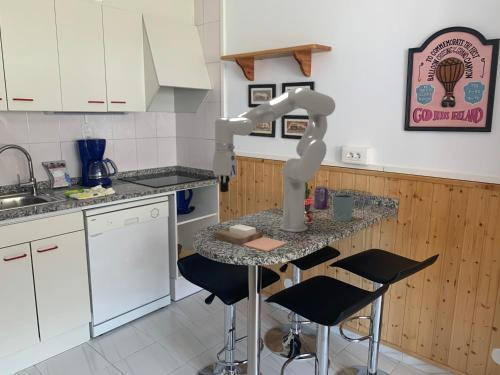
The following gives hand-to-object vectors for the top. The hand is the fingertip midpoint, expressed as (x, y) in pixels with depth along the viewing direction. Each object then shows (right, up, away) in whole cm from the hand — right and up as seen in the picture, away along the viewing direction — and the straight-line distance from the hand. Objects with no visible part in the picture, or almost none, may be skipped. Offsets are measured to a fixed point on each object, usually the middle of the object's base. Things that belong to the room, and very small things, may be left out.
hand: (224, 191), depth 164 cm
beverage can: (+50, -10, +54) cm, 75 cm away
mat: (+17, -21, -10) cm, 29 cm away
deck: (+6, -19, -2) cm, 20 cm away
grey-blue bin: (+57, -14, +30) cm, 66 cm away
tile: (+8, -17, -4) cm, 19 cm away
